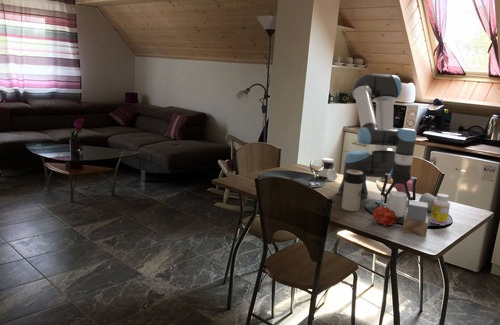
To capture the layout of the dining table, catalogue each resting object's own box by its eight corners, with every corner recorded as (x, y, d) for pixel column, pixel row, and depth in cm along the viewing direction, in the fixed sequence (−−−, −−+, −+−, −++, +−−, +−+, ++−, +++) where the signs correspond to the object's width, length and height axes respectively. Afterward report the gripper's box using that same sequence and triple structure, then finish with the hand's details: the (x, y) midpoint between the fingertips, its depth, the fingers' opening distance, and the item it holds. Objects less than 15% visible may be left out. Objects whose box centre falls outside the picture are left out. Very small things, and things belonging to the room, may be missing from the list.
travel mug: (338, 208, 195) (342, 170, 191) (347, 205, 200) (351, 168, 196) (353, 213, 189) (357, 174, 185) (362, 209, 195) (366, 172, 191)
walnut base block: (402, 233, 169) (404, 219, 168) (402, 225, 177) (404, 212, 176) (425, 237, 166) (428, 223, 165) (425, 229, 174) (427, 216, 173)
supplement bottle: (427, 219, 186) (432, 192, 184) (442, 221, 186) (447, 193, 183) (433, 225, 180) (438, 196, 177) (449, 226, 180) (454, 198, 177)
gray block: (406, 218, 169) (408, 204, 167) (407, 213, 175) (409, 199, 174) (425, 221, 166) (427, 207, 165) (425, 216, 172) (427, 202, 171)
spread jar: (323, 175, 256) (325, 156, 254) (340, 179, 250) (342, 160, 248) (314, 178, 247) (316, 159, 244) (332, 182, 240) (334, 163, 238)
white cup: (385, 215, 188) (388, 194, 186) (386, 210, 195) (389, 190, 193) (404, 218, 185) (407, 197, 183) (404, 213, 193) (407, 192, 190)
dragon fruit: (371, 222, 183) (395, 235, 175) (364, 215, 177) (389, 228, 169) (381, 206, 184) (405, 218, 176) (375, 198, 178) (400, 210, 170)
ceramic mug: (429, 213, 195) (432, 198, 194) (417, 208, 203) (419, 193, 201) (447, 212, 199) (450, 197, 197) (434, 207, 206) (436, 192, 205)
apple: (414, 195, 224) (417, 177, 222) (404, 197, 219) (407, 179, 217) (399, 191, 231) (401, 173, 229) (389, 192, 227) (391, 175, 224)
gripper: (378, 161, 185) (371, 210, 190) (427, 168, 178) (419, 218, 183) (379, 158, 192) (373, 206, 197) (427, 164, 185) (419, 213, 190)
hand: (395, 212), depth 190 cm, fingers closed on white cup, 7 cm apart
